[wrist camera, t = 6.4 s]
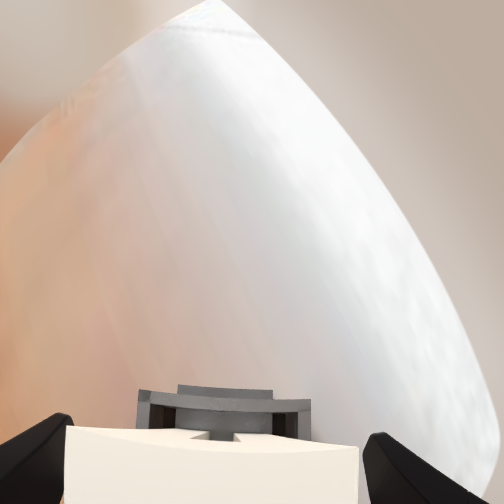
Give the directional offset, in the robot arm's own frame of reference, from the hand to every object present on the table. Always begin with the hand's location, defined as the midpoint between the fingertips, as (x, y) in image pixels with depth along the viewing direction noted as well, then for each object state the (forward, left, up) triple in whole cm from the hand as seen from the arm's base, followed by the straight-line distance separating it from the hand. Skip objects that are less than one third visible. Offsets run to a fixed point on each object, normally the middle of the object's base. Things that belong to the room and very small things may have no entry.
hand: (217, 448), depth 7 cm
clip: (-1, 0, -8) cm, 8 cm away
